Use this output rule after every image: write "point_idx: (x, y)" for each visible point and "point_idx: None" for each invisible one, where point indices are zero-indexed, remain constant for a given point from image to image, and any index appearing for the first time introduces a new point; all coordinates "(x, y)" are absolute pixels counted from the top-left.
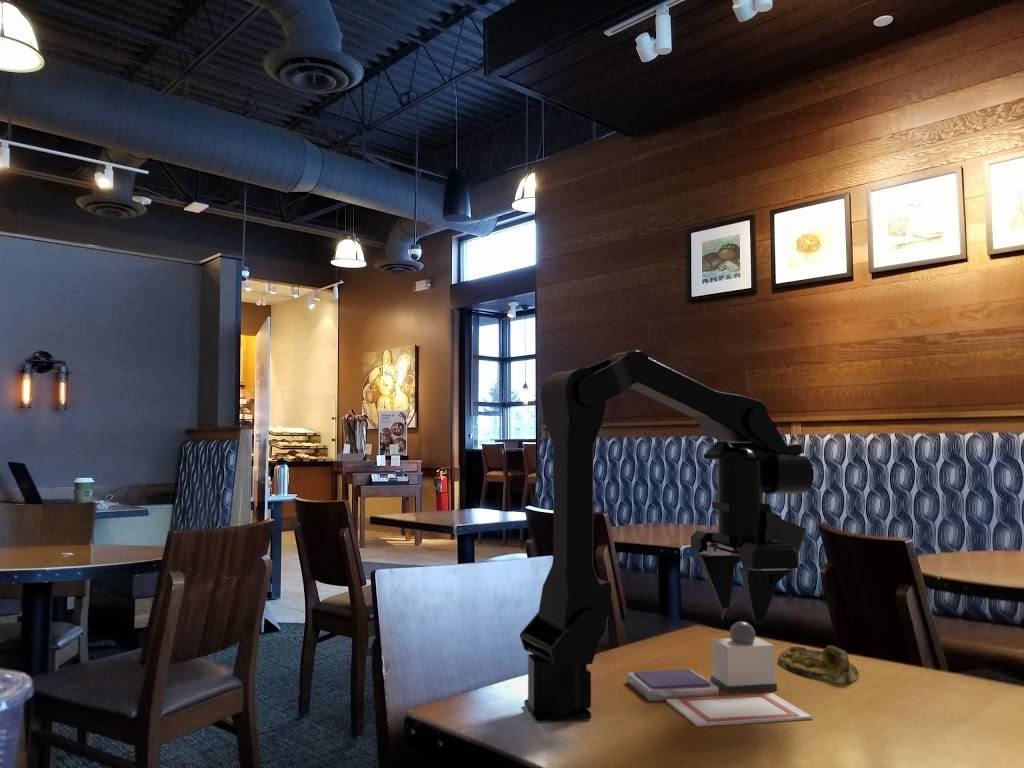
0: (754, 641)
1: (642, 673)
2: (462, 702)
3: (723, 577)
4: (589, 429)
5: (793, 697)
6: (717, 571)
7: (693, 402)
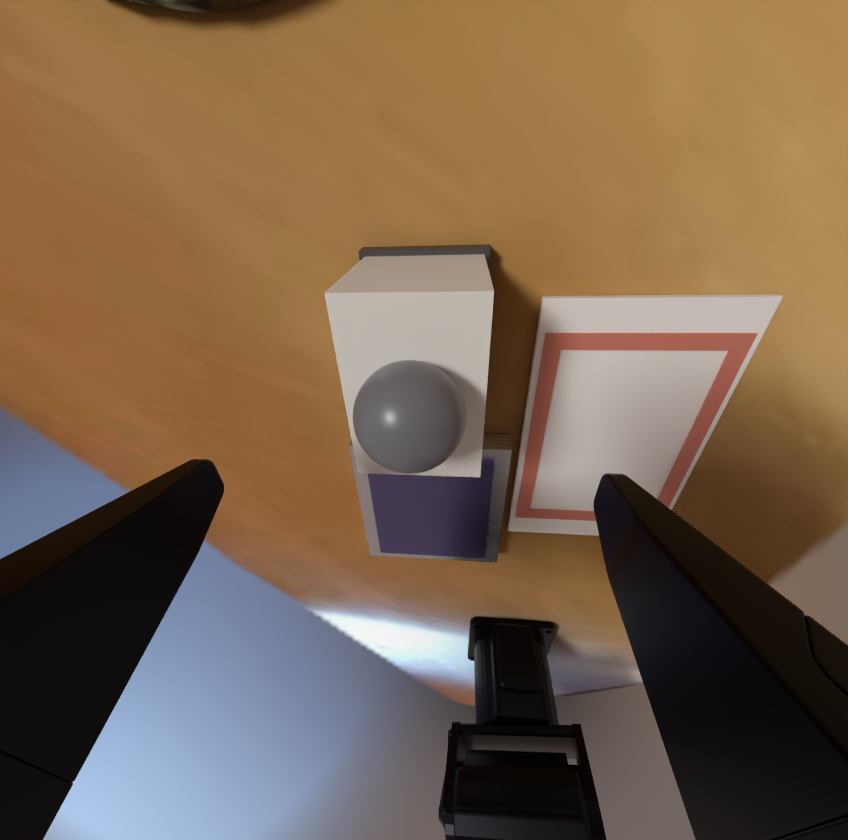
0: (410, 347)
1: (392, 544)
2: (442, 681)
3: (53, 663)
4: None
5: (578, 229)
6: (31, 749)
7: None
